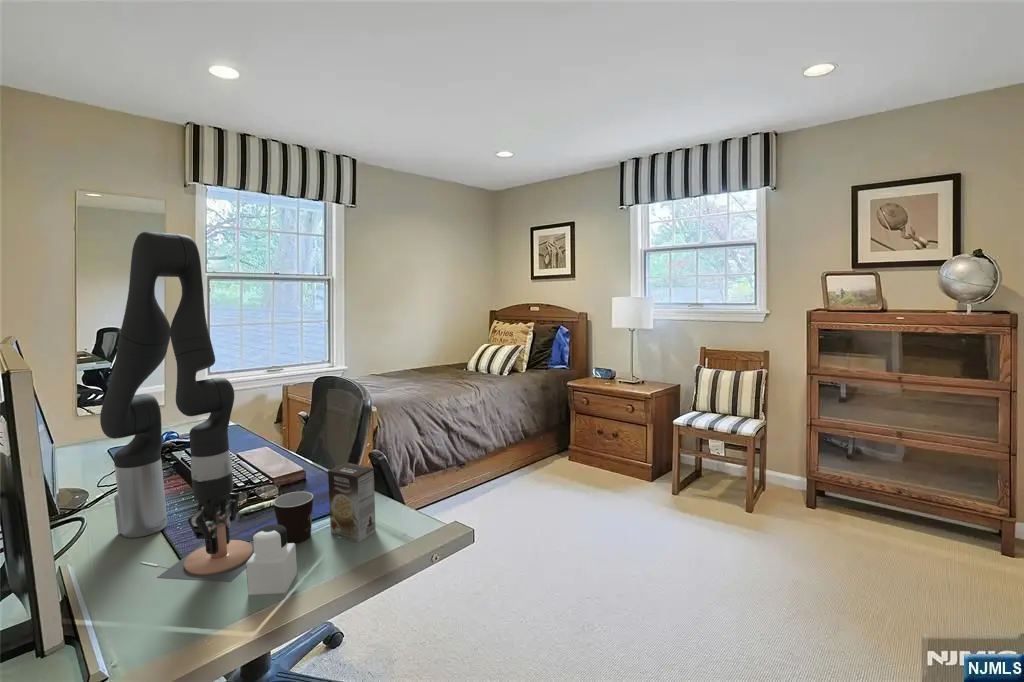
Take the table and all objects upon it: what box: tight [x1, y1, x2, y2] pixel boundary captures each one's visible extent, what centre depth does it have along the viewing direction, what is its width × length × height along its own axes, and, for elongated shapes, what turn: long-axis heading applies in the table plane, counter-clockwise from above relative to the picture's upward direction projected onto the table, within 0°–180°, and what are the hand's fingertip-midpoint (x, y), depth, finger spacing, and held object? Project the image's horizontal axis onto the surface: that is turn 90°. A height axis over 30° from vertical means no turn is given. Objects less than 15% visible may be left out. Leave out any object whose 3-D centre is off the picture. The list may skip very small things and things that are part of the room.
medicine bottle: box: [245, 524, 298, 596], centre depth 105 cm, size 7×7×12 cm
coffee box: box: [327, 461, 377, 543], centre depth 126 cm, size 9×6×16 cm
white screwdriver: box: [140, 561, 170, 570], centre depth 111 cm, size 1×19×1 cm, turn 72°
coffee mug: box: [272, 491, 314, 545], centre depth 125 cm, size 12×9×10 cm
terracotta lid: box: [184, 523, 253, 575], centre depth 115 cm, size 13×13×7 cm
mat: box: [156, 540, 254, 583], centre depth 115 cm, size 16×16×1 cm
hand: (218, 548), depth 115 cm, fingers closed on terracotta lid, 3 cm apart
